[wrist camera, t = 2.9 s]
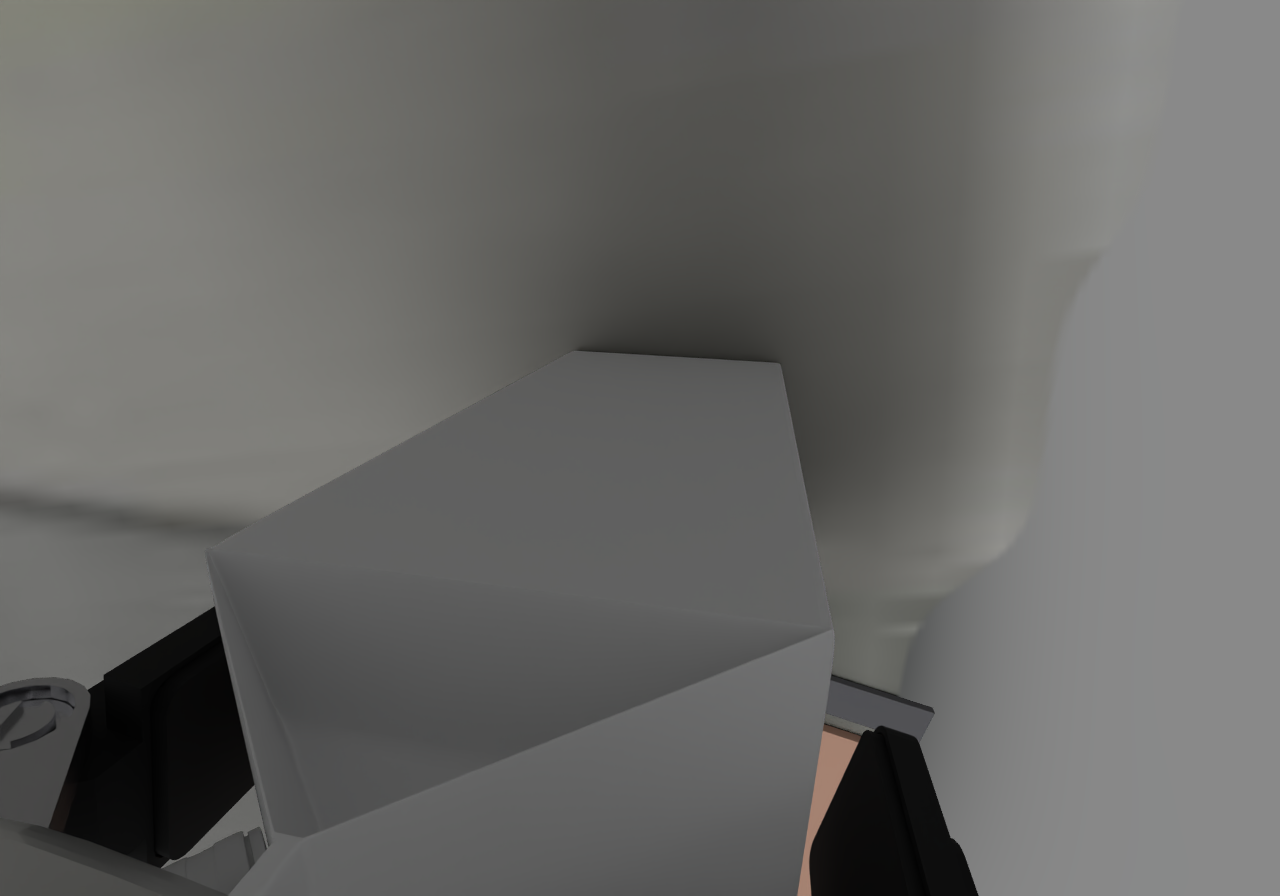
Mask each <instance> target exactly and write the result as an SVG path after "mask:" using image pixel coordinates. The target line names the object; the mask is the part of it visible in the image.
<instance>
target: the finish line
mask: <svg viewBox="0 0 1280 896" xmlns="http://www.w3.org/2000/svg"><path fill="white" fill-rule="evenodd" d="M826 713H827V714H830V715H833V716H836V717H839V718H842V719H845V720H848V721H851V722H854V723H857V724H860V725H863V726H866V727H870V728H873V729H876V728H877V727H878V726H881V725H882V726H885V727H888V728H891V729H894V730H897V731H900V732H903V733H906V734H909V735H912V736H914V737H916V738H917V740H918V742H920V740H921V739H922V737H923V734H924V733H925V731H926V729H927V727H928V725H929V723H930V721H931V719H932V718H933V716H934V710H933V708H931V707H929V706H925V705H922V704H919V703H916V702H913V701H910V700H907V699H904V698H900V697H897V696H894V695H891V694H888V693H885V692H882V691H879V690H875V689H872V688H869V687H866V686H863V685H860V684H857V683H854V682H850V681H847V680H844V679H841V678H838V677H835V676H832V675H831V679H830V686H829V693H828V700H827V706H826Z"/></svg>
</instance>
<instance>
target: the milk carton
mask: <svg viewBox="0 0 1280 896" xmlns="http://www.w3.org/2000/svg"><path fill="white" fill-rule="evenodd" d="M205 558H206V564H207V570H208V575H209V580H210V585H211V590H212V595H213V600H214V604H215V609H216V614H217V618H218V623H219V627H220V632H221V636H222V641H223V645H224V650H225V654H226V659H227V663H228V668H229V672H230V677H231V681H232V686H233V690H234V695H235V699H236V704H237V708H238V713H239V717H240V722H241V726H242V731H243V735H244V740H245V744H246V749H247V753H248V758H249V762H250V766H251V771H252V775H253V780H254V784H255V789H256V793H257V797H258V802H259V806H260V811H261V815H262V820H263V824H264V829H265V833H266V837H267V842H268V846H269V847H268V849H267V848H266V845H265V841H264V838H263V834H262V831H261V829H260V827H257V828H255V829H253V830H251V831H249V832H248V836H246V837H244V835H243V832H242V831H241V832H238V833H235V834H233V835H231V836H229V837H227V838H225V839H223V840H221V841H219V842H217V843H215V844H214V845H213V846H212V847H211V848H209V849H207V850H204V851H203V852H201V853H199V854H197V855H194V856H192V857H189V858H187V857H186V858H184V859H181V860H179V861H177V862H175V863H173V864H171V865H169V866H167V867H164V868H162V869H163V870H166V871H169V872H171V873H174V874H177V875H179V876H182V877H184V878H187V879H189V880H192V881H194V882H197V883H199V884H202V885H204V886H207V887H209V888H212V889H214V890H217V891H219V892H222V893H224V894H226V895H228V896H797V894H798V888H799V881H800V875H801V868H802V862H803V855H804V849H805V842H806V836H807V830H808V823H809V817H810V810H811V804H812V797H813V791H814V784H815V778H816V771H817V765H818V759H819V752H820V746H821V739H822V733H823V726H824V720H825V713H826V706H827V700H828V693H829V686H830V679H831V672H832V664H833V657H834V644H835V634H834V629H833V624H832V619H831V614H830V609H829V604H828V599H827V594H826V589H825V584H824V579H823V574H822V569H821V564H820V559H819V554H818V549H817V544H816V539H815V534H814V529H813V524H812V519H811V514H810V509H809V504H808V499H807V494H806V489H805V484H804V479H803V474H802V469H801V464H800V459H799V454H798V449H797V444H796V439H795V434H794V428H793V423H792V418H791V413H790V408H789V403H788V398H787V393H786V388H785V383H784V378H783V373H782V368H781V365H780V364H779V363H772V362H755V361H739V360H722V359H705V358H688V357H672V356H655V355H638V354H621V353H605V352H588V351H572V352H569V353H567V354H566V355H564V356H562V357H560V358H558V359H556V360H555V361H553V362H551V363H549V364H547V365H545V366H543V367H542V368H540V369H538V370H536V371H534V372H532V373H530V374H529V375H527V376H525V377H523V378H521V379H519V380H518V381H516V382H514V383H512V384H510V385H508V386H506V387H505V388H503V389H501V390H499V391H497V392H495V393H493V394H492V395H490V396H488V397H486V398H484V399H482V400H481V401H479V402H477V403H475V404H473V405H471V406H469V407H468V408H466V409H464V410H462V411H460V412H458V413H456V414H455V415H453V416H451V417H449V418H447V419H445V420H443V421H442V422H440V423H438V424H436V425H434V426H432V427H431V428H429V429H427V430H425V431H423V432H421V433H419V434H418V435H416V436H414V437H412V438H410V439H408V440H406V441H405V442H403V443H401V444H399V445H397V446H395V447H394V448H392V449H390V450H388V451H386V452H384V453H382V454H381V455H379V456H377V457H375V458H373V459H371V460H369V461H368V462H366V463H364V464H362V465H360V466H358V467H357V468H355V469H353V470H351V471H349V472H347V473H345V474H344V475H342V476H340V477H338V478H336V479H334V480H332V481H331V482H329V483H327V484H325V485H323V486H321V487H320V488H318V489H316V490H314V491H312V492H310V493H308V494H307V495H305V496H303V497H301V498H299V499H297V500H296V501H294V502H292V503H290V504H288V505H286V506H284V507H283V508H281V509H279V510H277V511H275V512H273V513H272V514H270V515H268V516H266V517H264V518H263V519H261V520H259V521H257V522H255V523H254V524H252V525H250V526H248V527H246V528H245V529H243V530H241V531H239V532H237V533H236V534H234V535H232V536H231V537H229V538H227V539H226V540H224V541H222V542H221V543H219V544H217V545H216V546H214V547H212V548H208V549H206V550H205Z"/></svg>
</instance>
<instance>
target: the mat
mask: <svg viewBox="0 0 1280 896" xmlns="http://www.w3.org/2000/svg"><path fill="white" fill-rule="evenodd" d="M860 738H861V736H859V735H856V734H853V733H850V732H847V731H844V730H841V729H838V728H835V727H831V726H828V725H825V724H824V726H823V733H822V739H821V746H820V752H819V759H818V765H817V771H816V778H815V784H814V791H813V797H812V804H811V810H810V817H809V823H808V830H807V836H806V842H805V849H804V855H803V862H802V868H801V875H800V881H799V888H798V894H797V896H811V885H810V872H809V856H810V850H811V845H812V842H813V840H814V837H815V835H816V833H817V831H818V829H819V827H820V825H821V822H822V820H823V818H824V816H825V814H826V812H827V809H828V807H829V805H830V803H831V801H832V799H833V796H834V794H835V792H836V790H837V788H838V786H839V783H840V781H841V779H842V777H843V775H844V773H845V770H846V768H847V766H848V764H849V762H850V760H851V757H852V755H853V753H854V751H855V749H856V747H857V744H858V742H859V740H860Z"/></svg>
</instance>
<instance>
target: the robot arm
mask: <svg viewBox="0 0 1280 896" xmlns="http://www.w3.org/2000/svg"><path fill="white" fill-rule="evenodd" d="M254 785H255V784H254V780H253V775H252V771H251V766H250V762H249V758H248V753H247V749H246V744H245V740H244V735H243V731H242V726H241V722H240V717H239V713H238V708H237V704H236V699H235V695H234V690H233V686H232V681H231V677H230V672H229V668H228V663H227V659H226V654H225V650H224V645H223V641H222V636H221V632H220V627H219V623H218V618H217V614H216V609H215V607H213V608H211V609H210V610H208V611H207V612H205V613H203V614H202V615H200V616H198V617H197V618H195V619H194V620H192V621H190V622H189V623H187V624H185V625H184V626H182V627H181V628H179V629H177V630H176V631H174V632H172V633H171V634H169V635H168V636H166V637H164V638H163V639H161V640H160V641H158V642H156V643H155V644H153V645H151V646H150V647H148V648H147V649H145V650H143V651H142V652H140V653H138V654H137V655H135V656H134V657H132V658H130V659H129V660H127V661H126V662H124V663H122V664H121V665H119V666H117V667H116V668H114V669H113V670H111V671H109V672H108V673H106V674H104V680H103V681H101V682H100V683H98V684H96V685H95V686H93V687H92V688H90V689H88V690H87V689H86V688H85V686H83V685H81V684H79V683H77V682H75V681H73V680H70V679H63V678H57V677H47V678H31V679H26V680H21V681H16V682H11V683H8V684H5V685H2V686H0V896H228V895H226V894H224V893H222V892H219V891H217V890H214V889H212V888H209V887H207V886H204V885H202V884H199V883H197V882H194V881H192V880H189V879H187V878H184V877H182V876H179V875H177V874H174V873H171V872H169V871H166V870H163V869H161V867H162V866H163V865H164V864H165V863H166V862H167V861H168V860H169V859H171V860H177V859H179V858H181V857H183V856H184V855H185V854H186V853H187V852H189V851H190V850H191V849H192V848H193V847H194V846H195V845H196V844H197V843H198V841H199V840H200V839H201V838H202V837H203V836H204V835H205V834H206V833H207V832H208V831H209V830H210V829H211V828H212V827H213V826H214V825H215V824H216V823H217V822H218V821H219V820H220V819H221V818H222V817H223V816H224V815H225V814H226V813H227V812H228V811H229V810H230V809H231V808H232V807H233V806H234V805H235V804H236V803H237V802H238V801H239V800H240V799H241V798H242V797H243V796H244V795H245V794H246V793H247V792H248V791H249V790H250V789H251V788H252V787H253V786H254ZM809 872H810V885H811V896H978V893H977V890H976V888H975V884H974V881H973V878H972V876H971V873H970V870H969V867H968V864H967V861H966V858H965V856H964V853H963V851H962V849H961V847H960V845H959V844H958V843H957V842H956V841H955V840H954V839H952V838H950V835H949V832H948V829H947V826H946V823H945V820H944V817H943V814H942V811H941V808H940V805H939V802H938V799H937V796H936V793H935V790H934V787H933V783H932V780H931V777H930V774H929V771H928V768H927V765H926V762H925V759H924V756H923V753H922V750H921V748H920V744H919V742H918V740H917V738H916V737H914V736H912V735H909V734H906V733H903V732H900V731H897V730H894V729H891V728H888V727H885V726H882V725H881V726H878V727H877V728H876V729H875V731H874V732H872V731H869V730H866V731H865V732H863V734H862V736H861V738H860V740H859V742H858V744H857V747H856V749H855V751H854V753H853V755H852V757H851V760H850V762H849V764H848V766H847V768H846V770H845V773H844V775H843V777H842V779H841V781H840V783H839V786H838V788H837V790H836V792H835V794H834V796H833V799H832V801H831V803H830V805H829V807H828V809H827V812H826V814H825V816H824V818H823V820H822V822H821V825H820V827H819V829H818V831H817V833H816V835H815V837H814V840H813V842H812V845H811V850H810V856H809Z"/></svg>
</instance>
